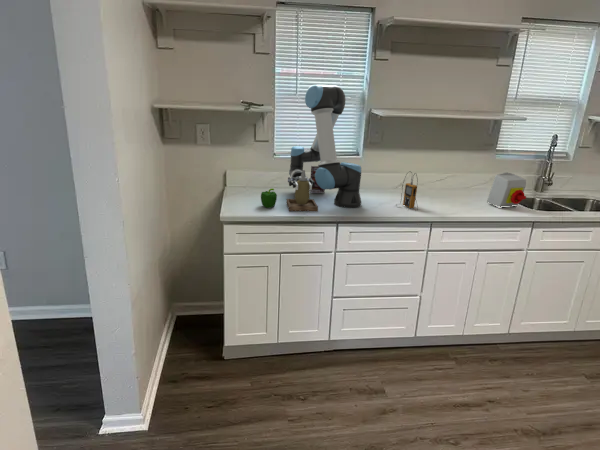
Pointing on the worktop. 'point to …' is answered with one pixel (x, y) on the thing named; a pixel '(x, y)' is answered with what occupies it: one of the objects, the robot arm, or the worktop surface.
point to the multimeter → (410, 194)
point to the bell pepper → (268, 198)
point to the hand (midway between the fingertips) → (304, 187)
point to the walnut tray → (302, 206)
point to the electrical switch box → (507, 190)
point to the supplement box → (316, 188)
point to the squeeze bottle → (302, 189)
